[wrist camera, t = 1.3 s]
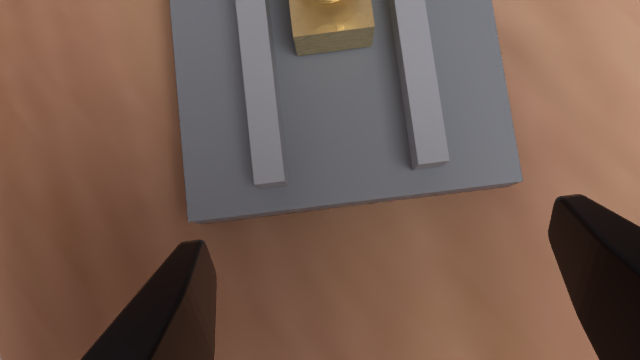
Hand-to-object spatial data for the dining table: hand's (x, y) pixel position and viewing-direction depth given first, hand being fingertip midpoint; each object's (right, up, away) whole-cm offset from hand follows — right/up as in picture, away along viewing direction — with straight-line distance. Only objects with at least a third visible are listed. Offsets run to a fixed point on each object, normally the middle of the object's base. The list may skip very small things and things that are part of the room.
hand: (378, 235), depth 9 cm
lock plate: (-1, +9, +15) cm, 17 cm away
